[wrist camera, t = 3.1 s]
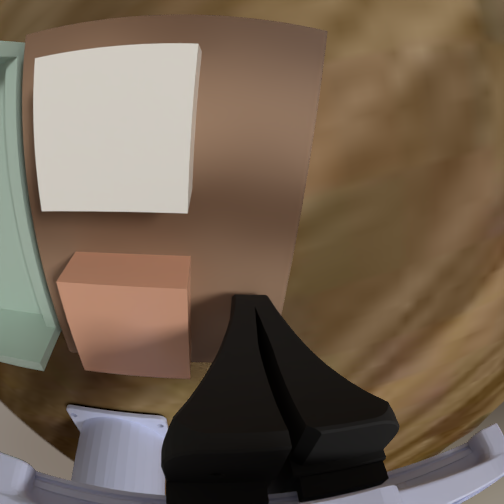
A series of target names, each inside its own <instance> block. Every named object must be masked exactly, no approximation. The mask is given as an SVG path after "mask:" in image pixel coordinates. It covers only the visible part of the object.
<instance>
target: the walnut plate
mask: <svg viewBox="0 0 504 504" xmlns="http://www.w3.org/2000/svg"><path fill="white" fill-rule="evenodd" d="M326 39H327V31H324V30H320V29H315V28H310V27H305V26H300V25H294V24H289V23H282V22H276V21H269V20H261V19H252V18H242V17H231V16H215V15H149V16H133V17H122V18H112V19H104V20H96V21H90V22H83V23H77V24H72V25H67V26H61V27H57V28H52V29H48V30H43V31H39V32H35V33H31V34H28V35H26V40H25V50H24V63H23V83H22V123H23V144H24V157H25V168H26V177H27V185H28V193H29V200H30V206H31V212H32V218H33V224H34V229H35V234H36V239H37V244H38V248H39V253H40V257H41V261H42V265H43V269H44V273H45V277H46V281H47V285H48V288H49V292H50V295H51V298H52V302H53V305H54V308H55V311H56V315H57V318H58V321H59V324H60V327H61V329H62V332H63V335H64V338H65V341H66V343H67V346H68V349H69V351H70V352H74V353H78V350H77V348H76V345H75V342H74V339H73V336H72V333H71V330H70V327H69V324H68V321H67V318H66V314H65V311H64V308H63V304H62V301H61V297H60V294H59V290H58V286H57V283H56V281H57V280H58V278H59V276H60V275H61V273H62V272H63V270H64V269H65V267H66V266H67V264H68V262H69V261H70V259H71V258H72V256H73V255H74V253H75V252H97V253H122V254H148V255H175V256H191V342H192V346H191V362H213V361H214V359H215V357H216V355H217V352H218V350H219V348H220V346H221V343H222V341H223V338H224V335H225V333H226V330H227V327H228V323H229V320H230V311H231V300H232V296H233V295H235V294H245V295H267V296H268V297H269V299H270V300H271V302H272V303H273V305H274V306H275V308H276V309H277V310H278V312H279V313H280V315H281V314H282V309H283V304H284V299H285V294H286V289H287V284H288V279H289V274H290V269H291V264H292V259H293V253H294V248H295V243H296V237H297V232H298V226H299V221H300V215H301V209H302V204H303V198H304V192H305V186H306V180H307V174H308V168H309V162H310V155H311V149H312V142H313V136H314V129H315V123H316V116H317V109H318V102H319V94H320V87H321V80H322V72H323V64H324V56H325V48H326ZM158 43H194V44H199V46H200V48H201V51H202V56H201V66H200V76H199V87H198V99H197V112H196V126H195V142H194V160H193V182H192V193H191V198H190V204H189V209H188V214H187V213H155V212H104V211H42V210H41V203H40V196H39V188H38V180H37V170H36V159H35V145H34V122H33V88H34V65H35V58H39V57H43V56H48V55H53V54H59V53H65V52H71V51H77V50H84V49H92V48H100V47H110V46H121V45H135V44H158Z"/></svg>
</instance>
